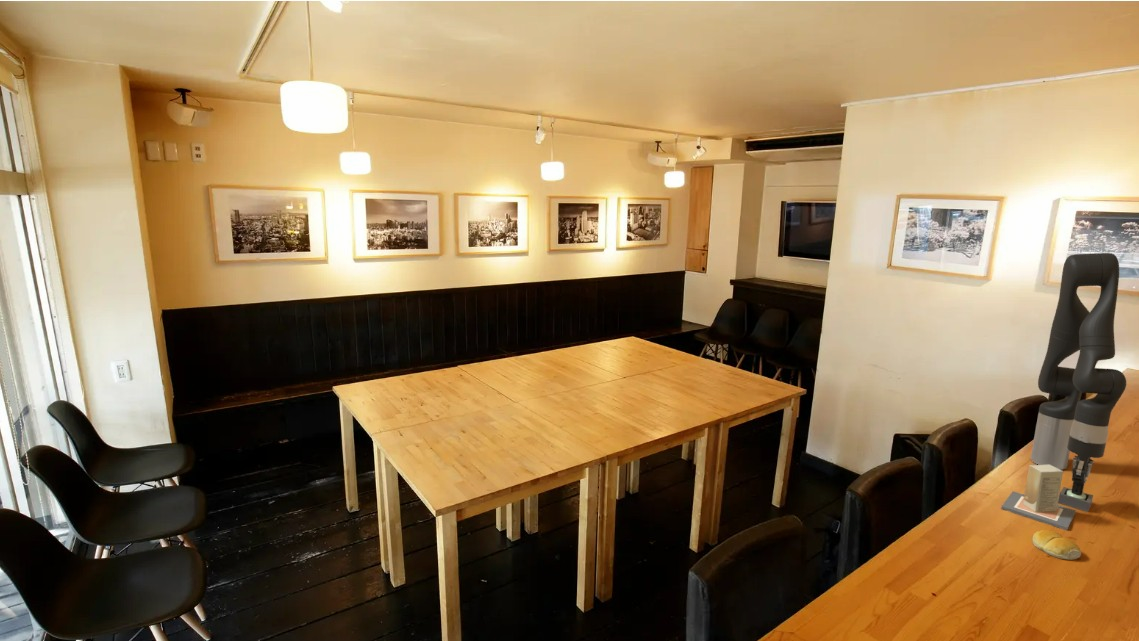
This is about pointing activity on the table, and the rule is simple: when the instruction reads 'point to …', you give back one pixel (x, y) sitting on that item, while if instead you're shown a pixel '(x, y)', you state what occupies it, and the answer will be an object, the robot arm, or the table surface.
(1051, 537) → the bread roll
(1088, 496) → the button housing
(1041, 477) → the skincare box
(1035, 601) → the table surface
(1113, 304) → the robot arm
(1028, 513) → the picture board
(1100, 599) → the table surface
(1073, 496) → the button
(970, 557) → the table surface
